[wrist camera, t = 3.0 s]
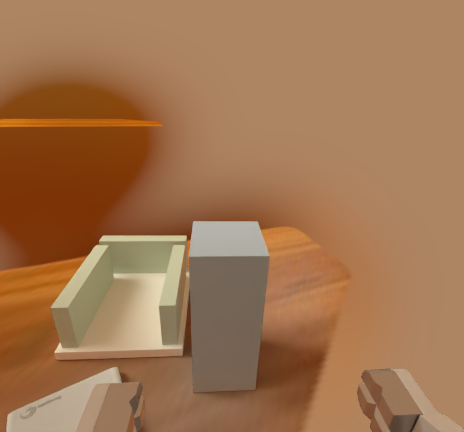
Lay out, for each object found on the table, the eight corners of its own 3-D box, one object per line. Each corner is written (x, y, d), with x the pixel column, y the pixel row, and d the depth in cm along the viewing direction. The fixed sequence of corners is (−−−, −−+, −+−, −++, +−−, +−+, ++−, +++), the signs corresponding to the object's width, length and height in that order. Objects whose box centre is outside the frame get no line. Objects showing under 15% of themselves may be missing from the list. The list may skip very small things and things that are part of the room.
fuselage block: (193, 392, 25) (188, 256, 19) (196, 341, 30) (193, 221, 24) (255, 389, 25) (269, 255, 19) (247, 339, 30) (257, 221, 24)
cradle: (56, 360, 27) (41, 311, 25) (105, 273, 40) (99, 235, 37) (182, 355, 28) (180, 309, 25) (191, 272, 41) (190, 235, 38)
